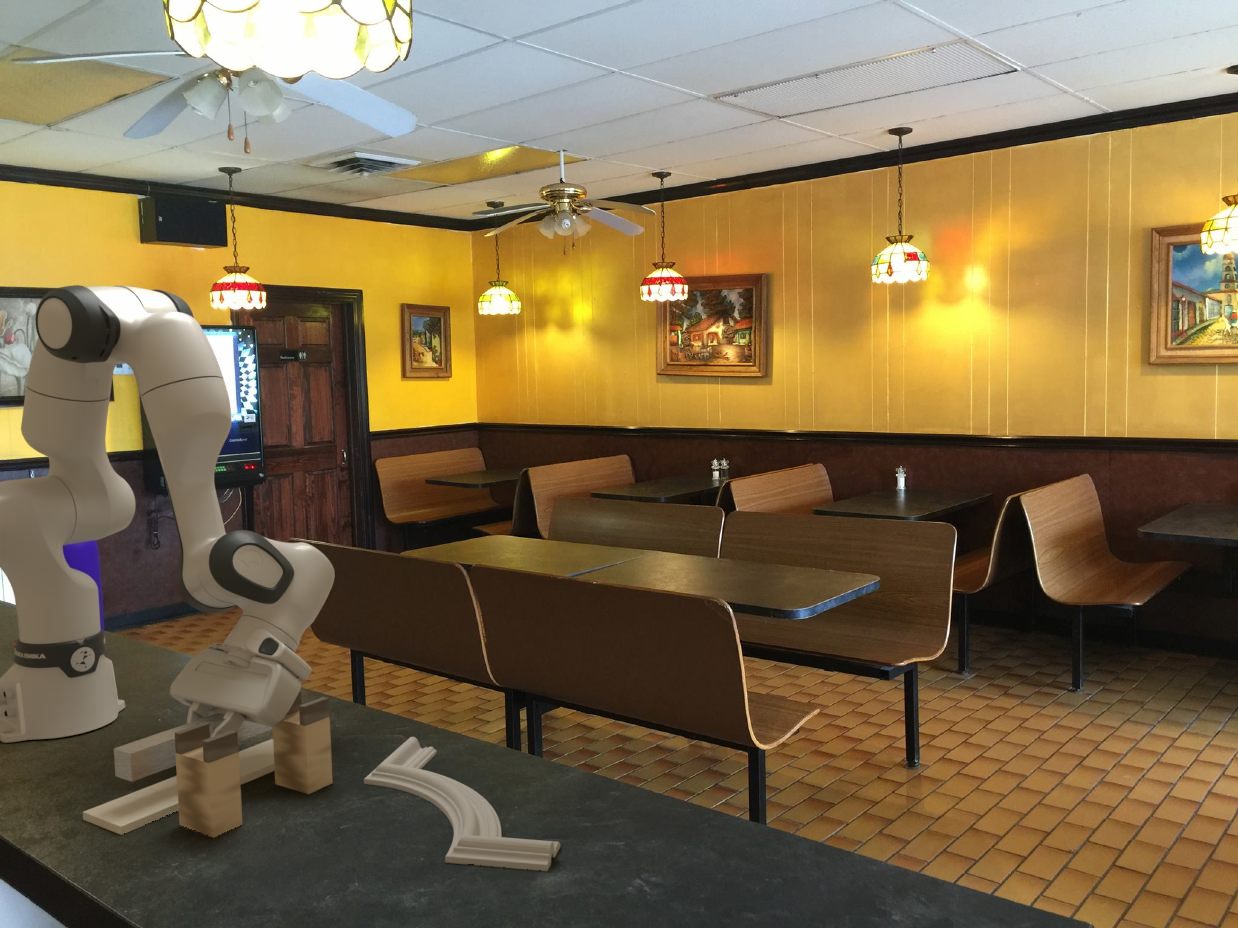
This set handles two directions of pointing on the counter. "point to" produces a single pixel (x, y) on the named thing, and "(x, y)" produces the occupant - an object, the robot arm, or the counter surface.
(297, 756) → the post far
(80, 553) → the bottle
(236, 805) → the post near
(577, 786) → the counter surface
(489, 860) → the molding
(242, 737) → the rail
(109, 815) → the plank
